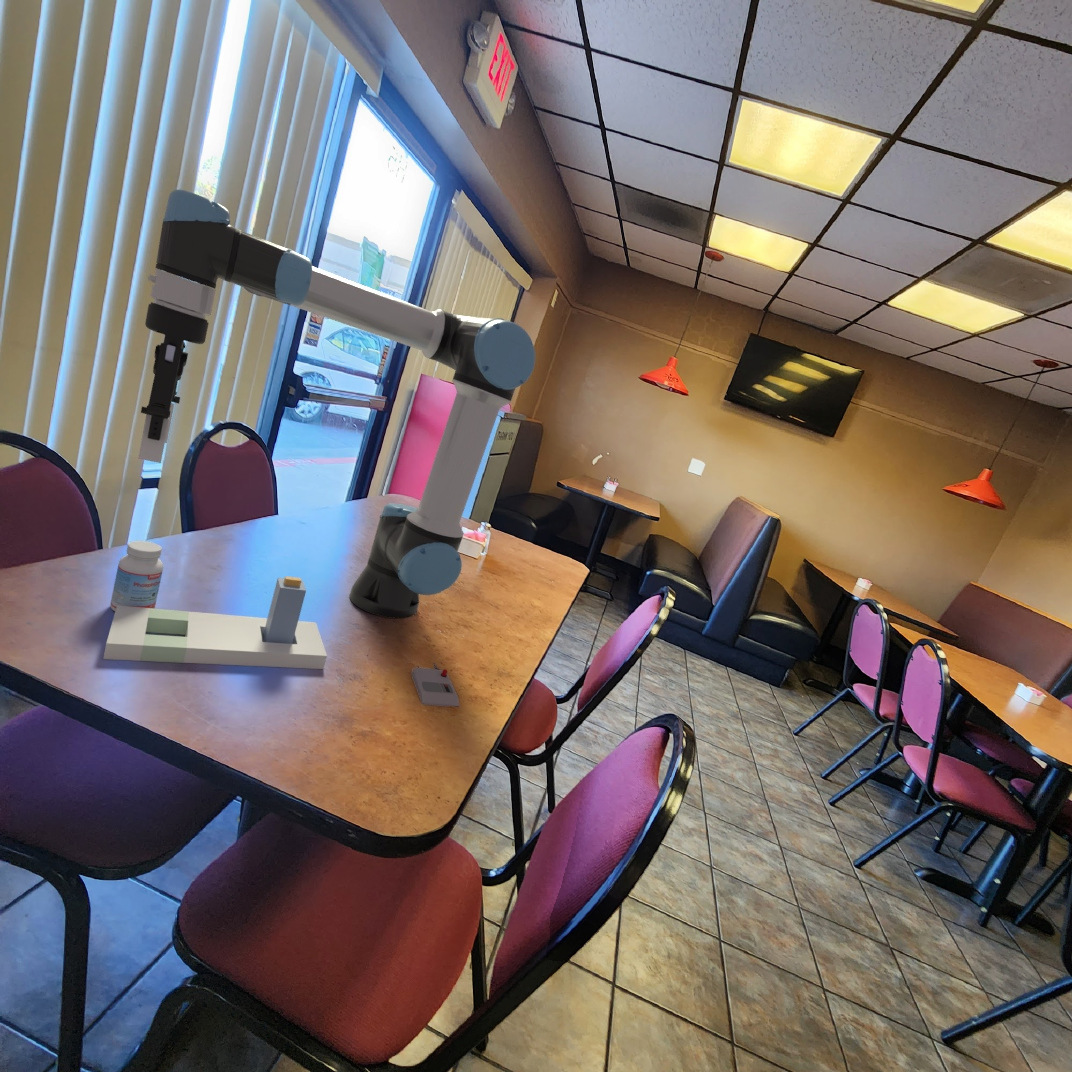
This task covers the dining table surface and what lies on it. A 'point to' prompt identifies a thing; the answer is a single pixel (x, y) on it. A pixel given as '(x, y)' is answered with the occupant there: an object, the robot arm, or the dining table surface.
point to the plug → (284, 610)
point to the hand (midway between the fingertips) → (153, 450)
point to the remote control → (434, 687)
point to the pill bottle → (138, 576)
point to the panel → (208, 640)
